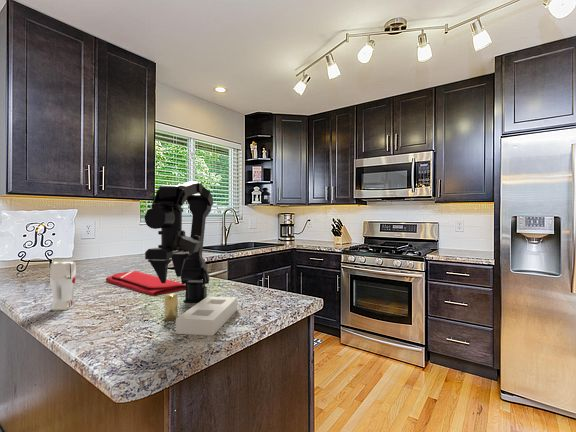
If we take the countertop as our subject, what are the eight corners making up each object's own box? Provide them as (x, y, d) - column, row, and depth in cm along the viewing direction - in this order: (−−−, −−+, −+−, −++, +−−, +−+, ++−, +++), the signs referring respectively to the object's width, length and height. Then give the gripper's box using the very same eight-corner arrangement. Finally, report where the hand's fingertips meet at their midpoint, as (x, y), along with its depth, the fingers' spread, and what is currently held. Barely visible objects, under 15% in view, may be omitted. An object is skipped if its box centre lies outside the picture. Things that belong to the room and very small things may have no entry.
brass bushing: (162, 320, 92) (162, 296, 92) (168, 316, 96) (168, 293, 96) (173, 321, 92) (174, 297, 92) (179, 317, 95) (179, 293, 95)
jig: (175, 333, 82) (176, 318, 82) (207, 308, 104) (207, 296, 104) (213, 335, 81) (213, 320, 81) (237, 309, 103) (237, 297, 103)
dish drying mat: (152, 297, 119) (152, 287, 119) (104, 282, 144) (104, 274, 144) (188, 289, 132) (188, 280, 132) (138, 277, 156) (138, 269, 156)
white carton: (80, 306, 106) (80, 261, 106) (59, 312, 99) (59, 264, 99) (65, 304, 108) (66, 260, 108) (44, 310, 101) (44, 263, 101)
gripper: (183, 229, 83) (183, 288, 84) (209, 226, 102) (209, 274, 102) (143, 228, 85) (143, 286, 85) (176, 226, 103) (176, 273, 103)
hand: (171, 279), depth 94 cm, fingers open, 9 cm apart
